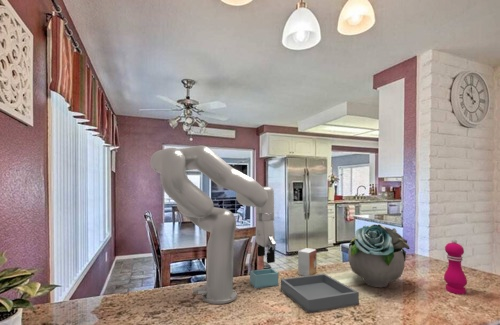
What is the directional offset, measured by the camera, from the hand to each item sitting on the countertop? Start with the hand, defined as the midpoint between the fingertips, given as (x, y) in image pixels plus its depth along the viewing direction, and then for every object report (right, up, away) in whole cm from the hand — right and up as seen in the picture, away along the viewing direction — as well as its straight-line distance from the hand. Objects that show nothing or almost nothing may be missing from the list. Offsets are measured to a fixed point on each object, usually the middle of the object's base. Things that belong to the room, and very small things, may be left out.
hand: (265, 259), depth 114 cm
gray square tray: (+18, -10, -12) cm, 24 cm away
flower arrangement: (+45, -11, +1) cm, 47 cm away
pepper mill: (+73, -11, -6) cm, 74 cm away
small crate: (-1, -10, -1) cm, 10 cm away
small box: (+20, -11, +13) cm, 26 cm away
